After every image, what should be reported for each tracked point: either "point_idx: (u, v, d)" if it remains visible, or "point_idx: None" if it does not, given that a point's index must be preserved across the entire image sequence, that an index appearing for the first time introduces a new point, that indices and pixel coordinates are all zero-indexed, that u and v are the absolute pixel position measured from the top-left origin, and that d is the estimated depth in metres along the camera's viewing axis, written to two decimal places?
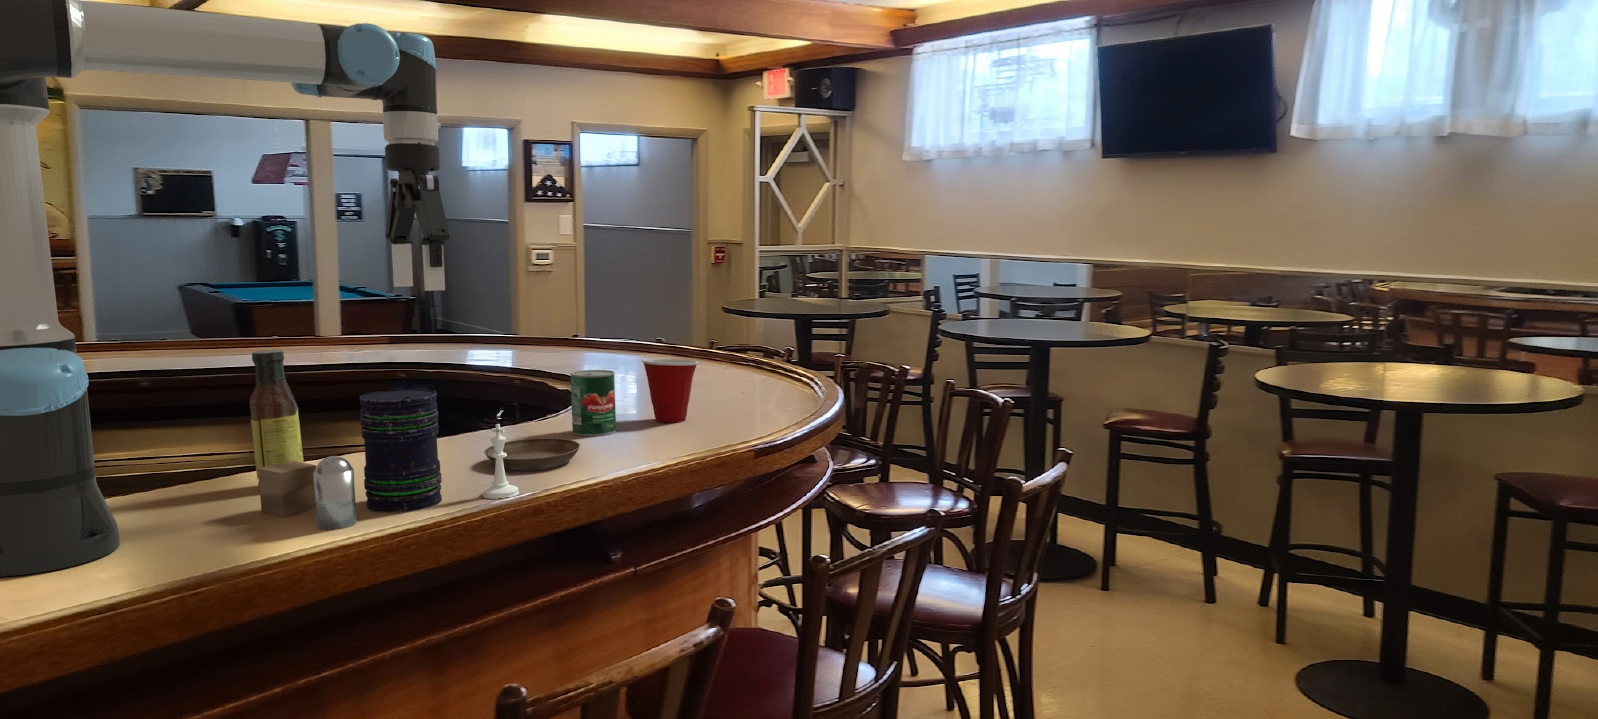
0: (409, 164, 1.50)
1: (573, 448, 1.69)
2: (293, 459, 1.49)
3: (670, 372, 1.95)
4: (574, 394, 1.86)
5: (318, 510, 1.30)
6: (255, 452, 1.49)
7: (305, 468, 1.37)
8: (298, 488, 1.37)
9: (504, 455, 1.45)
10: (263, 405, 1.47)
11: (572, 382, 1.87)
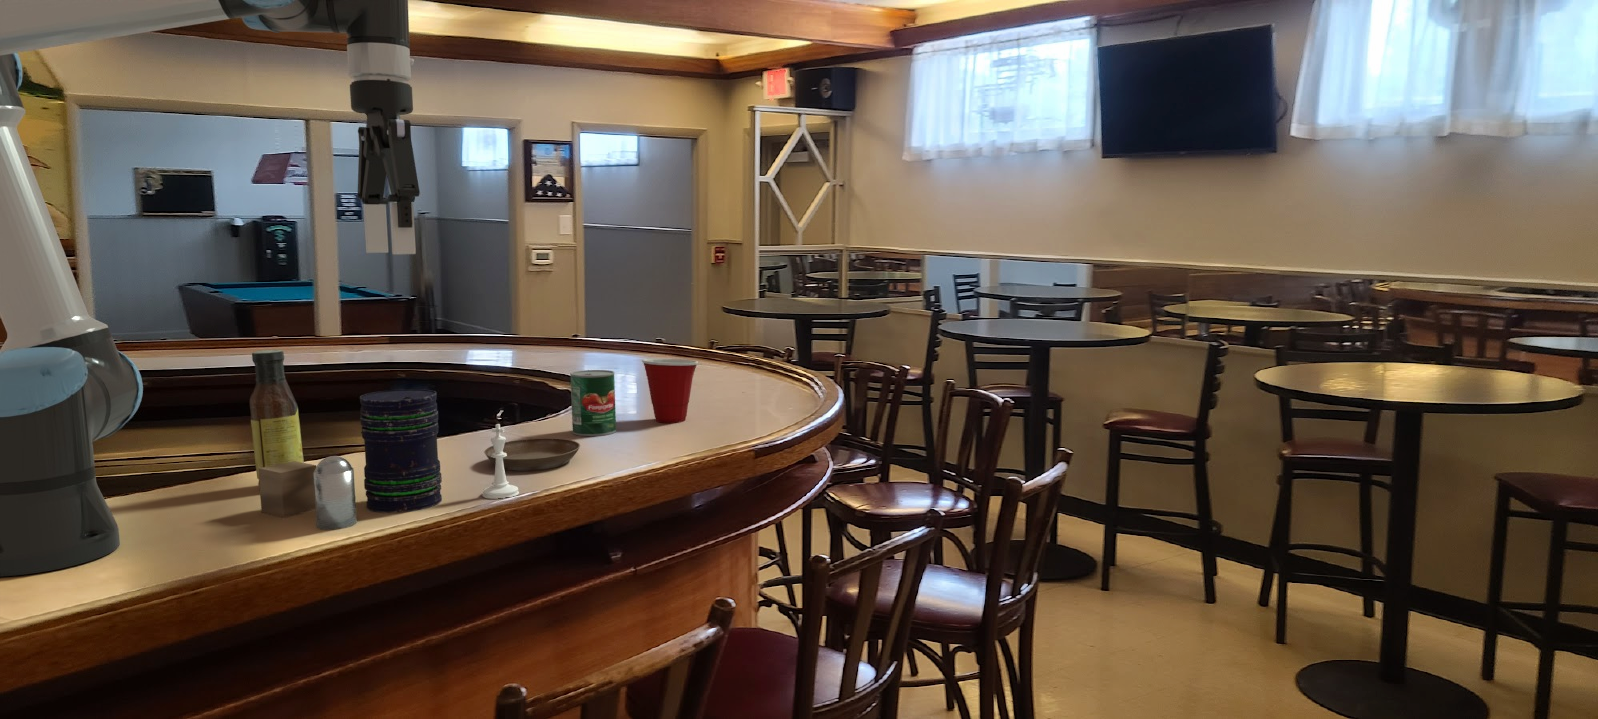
0: (377, 103, 1.32)
1: (573, 448, 1.69)
2: (293, 459, 1.49)
3: (670, 372, 1.95)
4: (574, 394, 1.86)
5: (318, 510, 1.30)
6: (255, 452, 1.49)
7: (305, 468, 1.37)
8: (298, 488, 1.37)
9: (504, 455, 1.45)
10: (263, 405, 1.47)
11: (572, 382, 1.87)
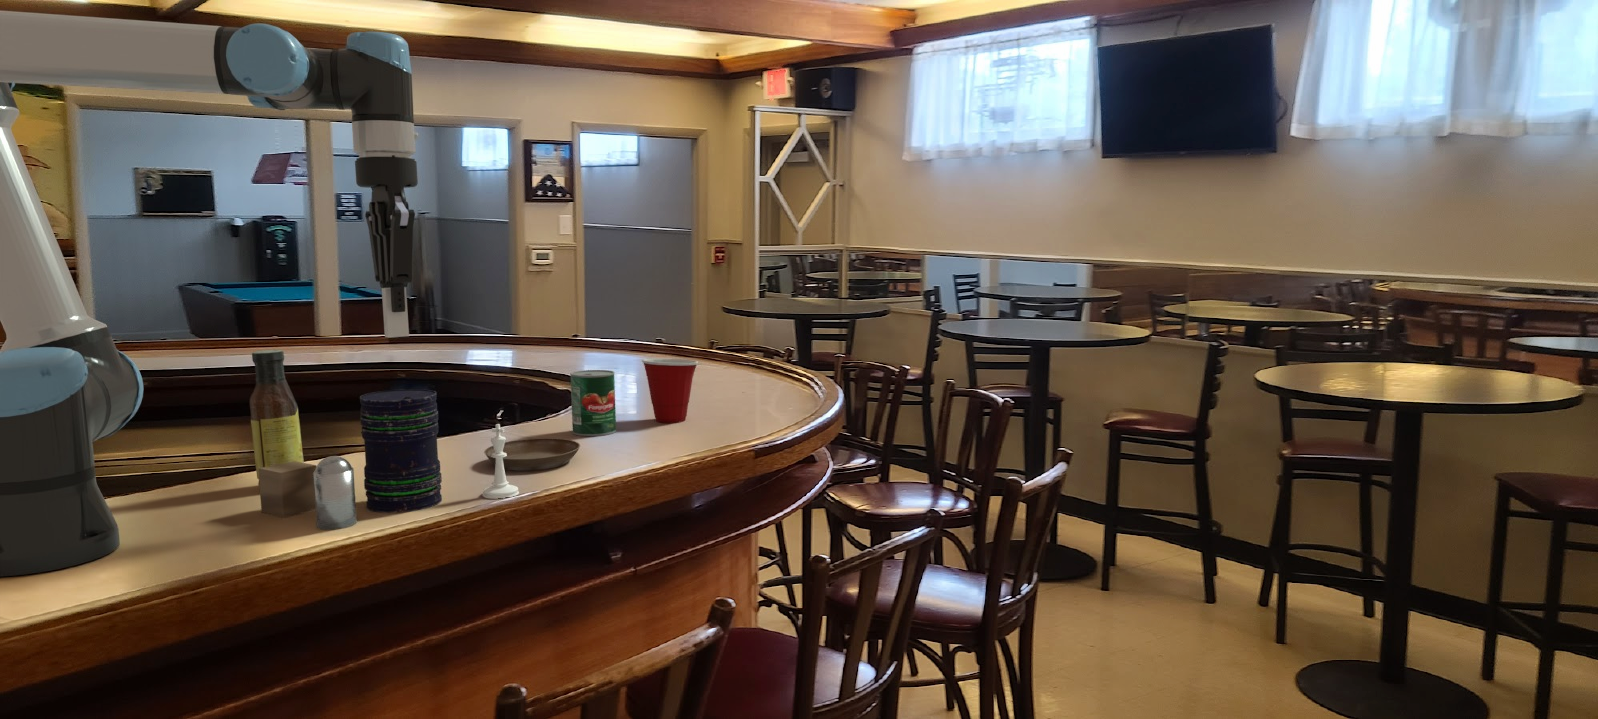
0: (382, 180, 1.33)
1: (573, 448, 1.69)
2: (293, 459, 1.49)
3: (670, 372, 1.95)
4: (574, 394, 1.86)
5: (318, 510, 1.30)
6: (255, 452, 1.49)
7: (305, 468, 1.37)
8: (298, 488, 1.37)
9: (504, 455, 1.45)
10: (263, 405, 1.47)
11: (572, 382, 1.87)
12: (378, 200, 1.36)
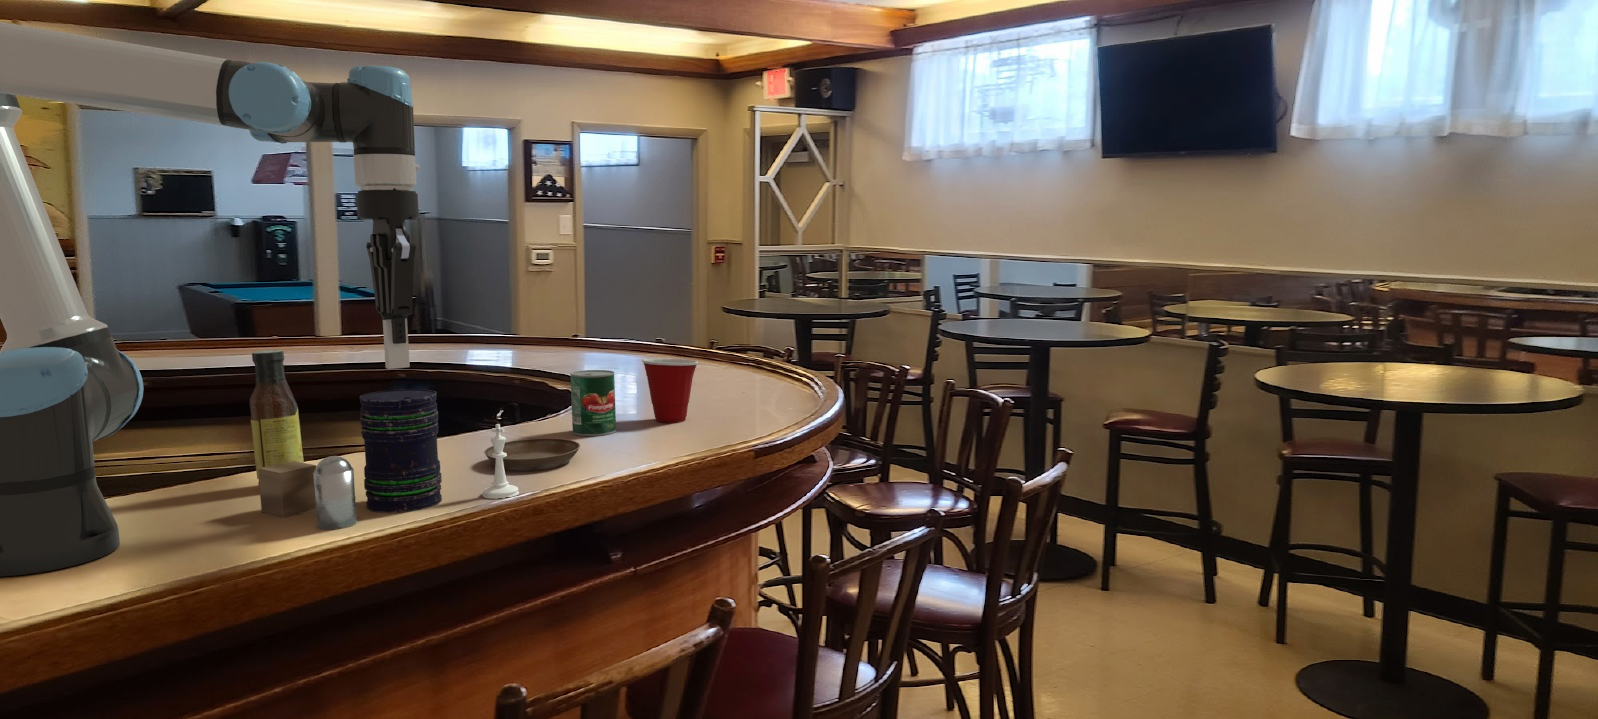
0: (383, 213, 1.33)
1: (573, 448, 1.69)
2: (293, 459, 1.49)
3: (670, 372, 1.95)
4: (574, 394, 1.86)
5: (318, 510, 1.30)
6: (255, 452, 1.49)
7: (305, 468, 1.37)
8: (298, 488, 1.37)
9: (504, 455, 1.45)
10: (263, 405, 1.47)
11: (572, 382, 1.87)
12: (379, 232, 1.37)
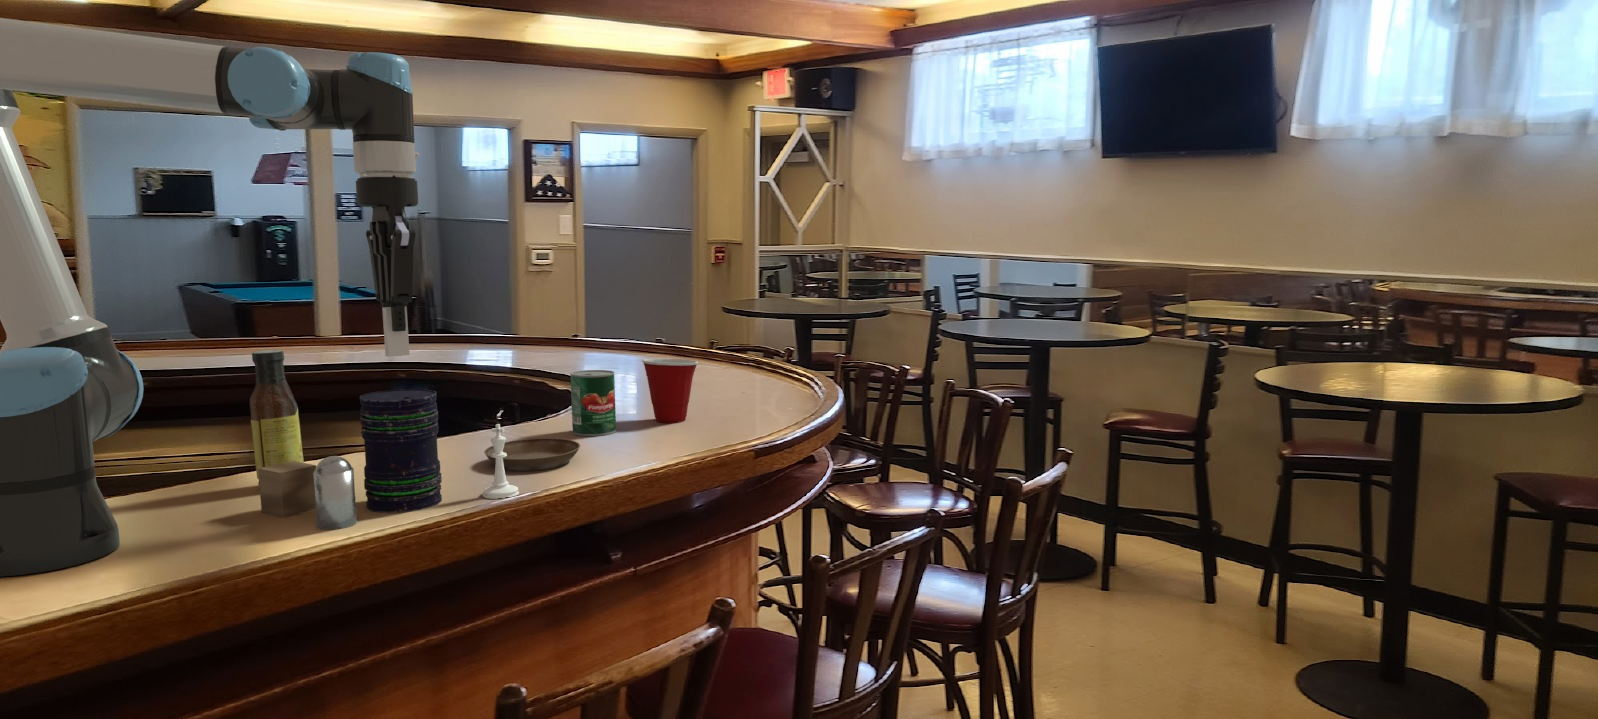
0: (383, 200, 1.33)
1: (573, 448, 1.69)
2: (293, 459, 1.49)
3: (670, 372, 1.95)
4: (574, 394, 1.86)
5: (318, 510, 1.30)
6: (255, 452, 1.49)
7: (305, 468, 1.37)
8: (298, 488, 1.37)
9: (504, 455, 1.45)
10: (263, 405, 1.47)
11: (572, 382, 1.87)
12: (379, 220, 1.37)
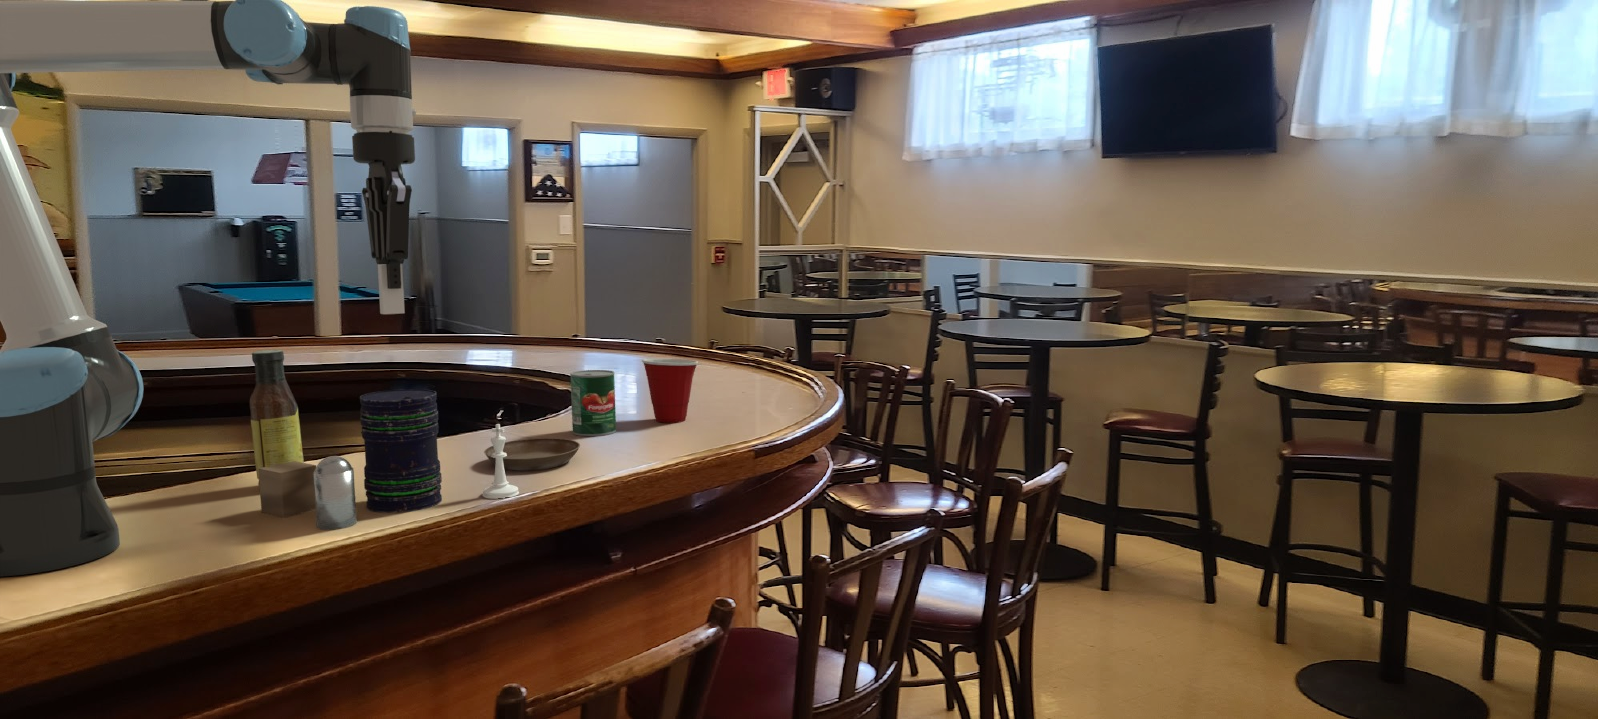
0: (379, 155, 1.32)
1: (573, 448, 1.69)
2: (293, 459, 1.49)
3: (670, 372, 1.95)
4: (574, 394, 1.86)
5: (318, 510, 1.30)
6: (255, 452, 1.49)
7: (305, 468, 1.37)
8: (298, 488, 1.37)
9: (504, 455, 1.45)
10: (263, 405, 1.47)
11: (572, 382, 1.87)
12: (375, 176, 1.36)
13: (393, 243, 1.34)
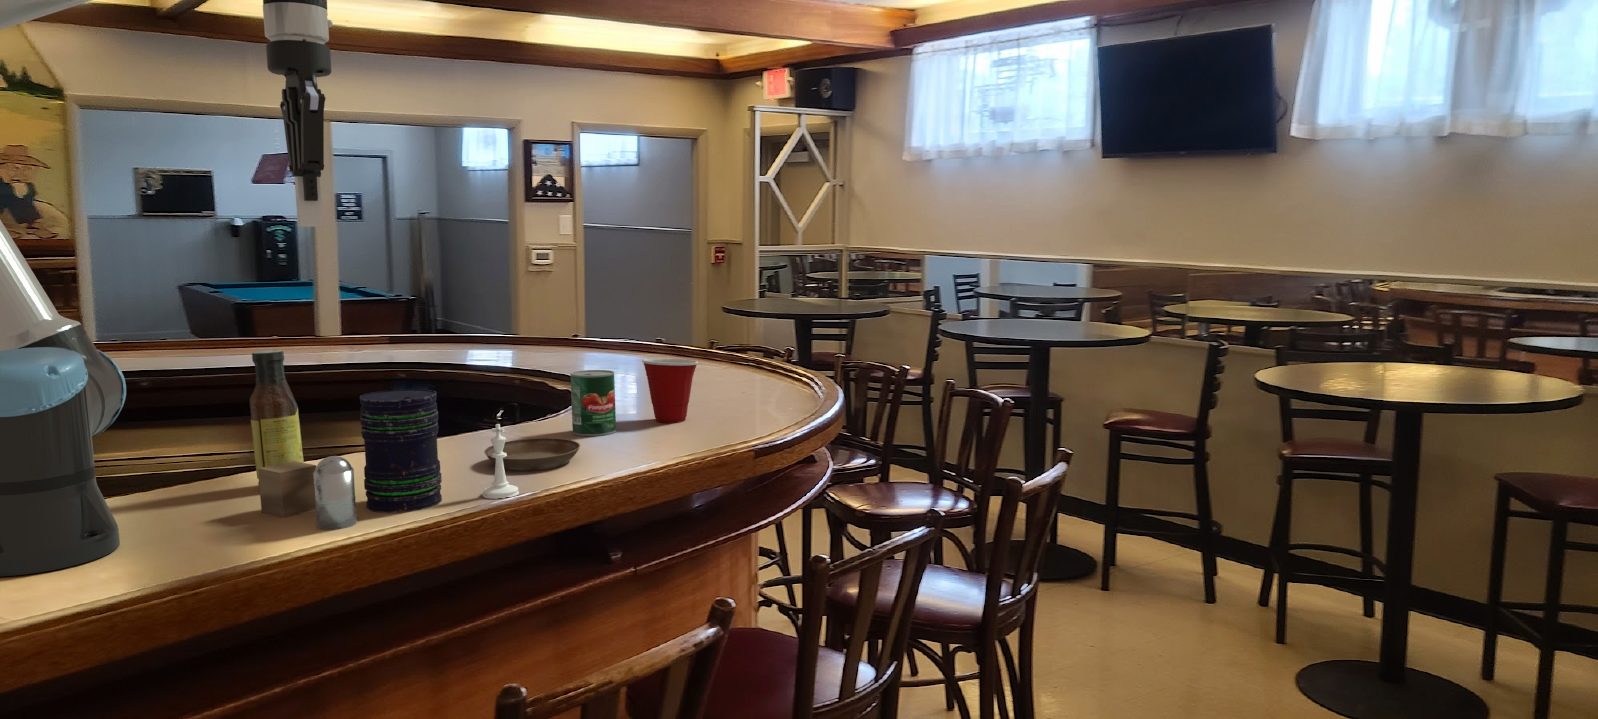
0: (292, 64, 1.31)
1: (573, 448, 1.69)
2: (293, 459, 1.49)
3: (670, 372, 1.95)
4: (574, 394, 1.86)
5: (318, 510, 1.30)
6: (255, 452, 1.49)
7: (305, 468, 1.37)
8: (297, 488, 1.37)
9: (504, 455, 1.45)
10: (263, 405, 1.47)
11: (572, 382, 1.87)
12: (290, 87, 1.35)
13: (307, 153, 1.33)
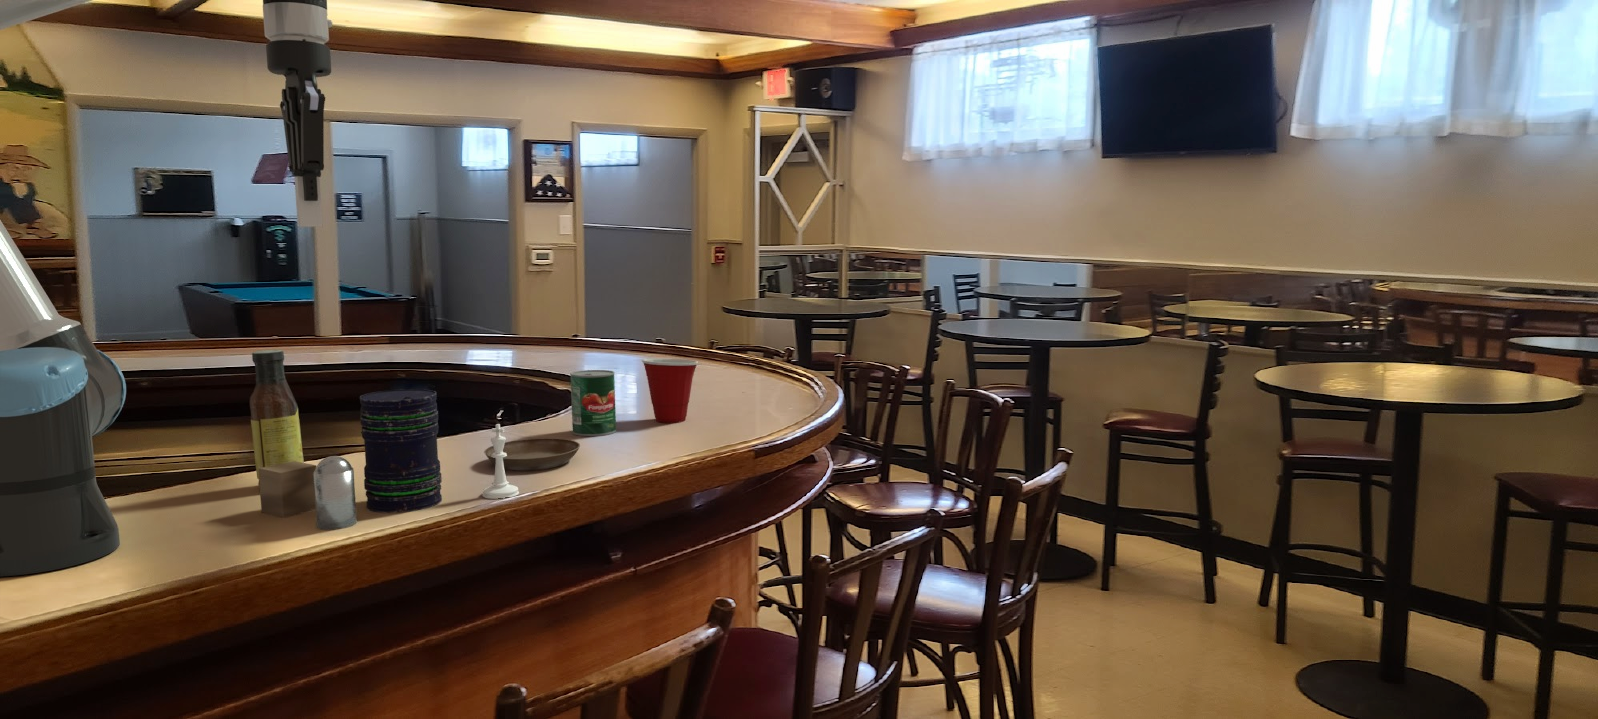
0: (292, 64, 1.31)
1: (573, 448, 1.69)
2: (293, 459, 1.49)
3: (670, 372, 1.95)
4: (574, 394, 1.86)
5: (318, 510, 1.30)
6: (255, 452, 1.49)
7: (305, 468, 1.37)
8: (298, 488, 1.37)
9: (504, 455, 1.45)
10: (263, 405, 1.47)
11: (572, 382, 1.87)
12: (290, 87, 1.35)
13: (307, 153, 1.33)
